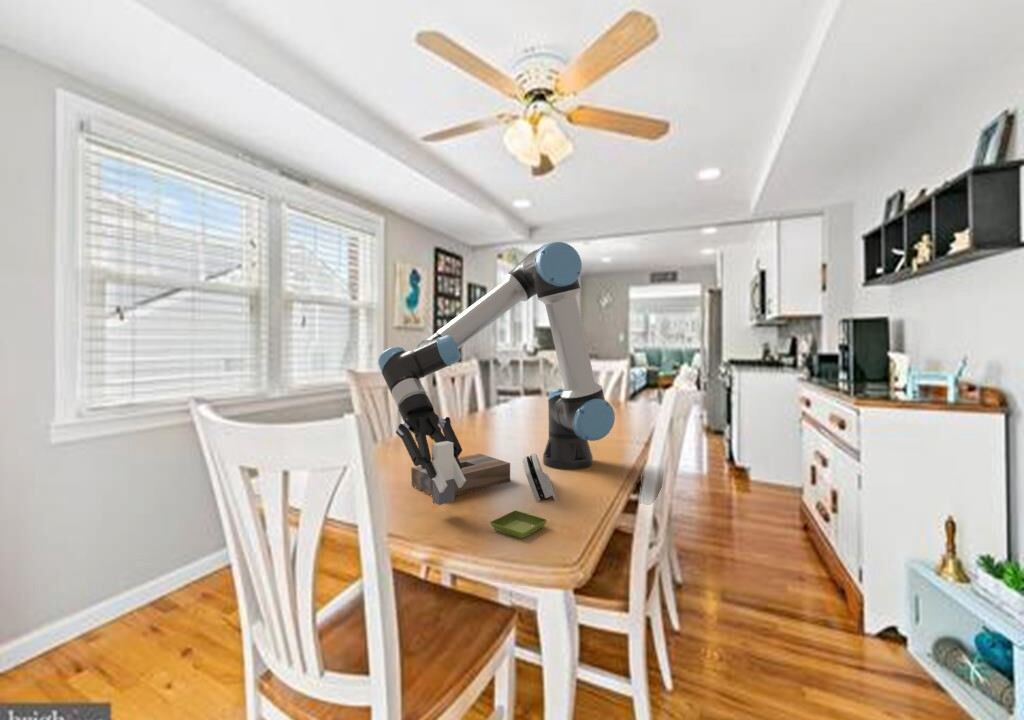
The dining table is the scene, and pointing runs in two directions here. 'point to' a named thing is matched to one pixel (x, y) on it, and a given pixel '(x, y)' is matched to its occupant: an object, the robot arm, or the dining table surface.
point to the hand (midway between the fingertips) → (453, 486)
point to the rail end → (444, 471)
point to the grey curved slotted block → (537, 478)
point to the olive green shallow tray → (518, 524)
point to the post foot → (468, 474)
